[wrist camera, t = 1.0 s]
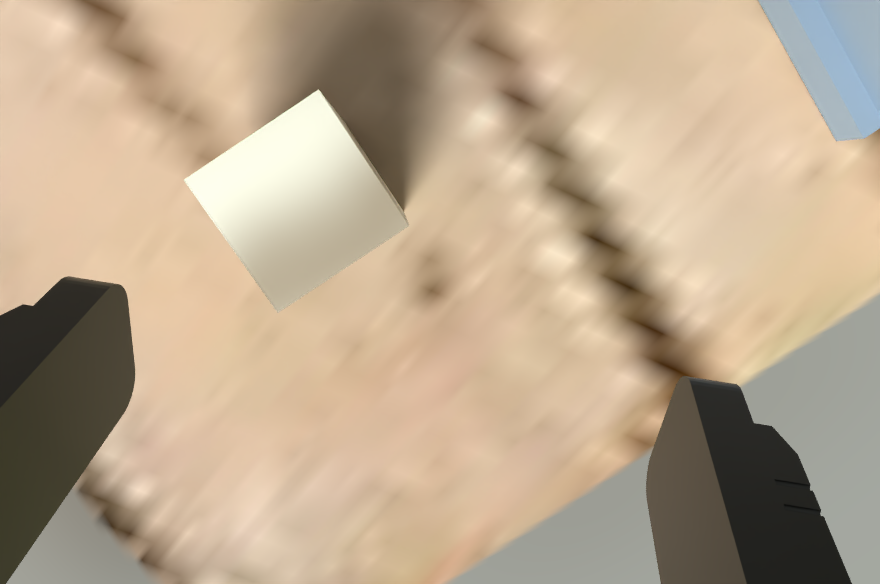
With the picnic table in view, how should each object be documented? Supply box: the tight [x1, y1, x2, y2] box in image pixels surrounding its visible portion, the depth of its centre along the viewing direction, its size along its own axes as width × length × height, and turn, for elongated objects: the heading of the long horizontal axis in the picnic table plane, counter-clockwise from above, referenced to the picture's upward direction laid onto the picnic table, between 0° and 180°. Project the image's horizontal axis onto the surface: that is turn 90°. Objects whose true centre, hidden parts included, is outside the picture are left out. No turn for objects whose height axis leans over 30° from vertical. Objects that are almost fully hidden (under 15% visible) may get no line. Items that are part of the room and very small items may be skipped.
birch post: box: [184, 89, 409, 313], centre depth 27 cm, size 4×4×11 cm
